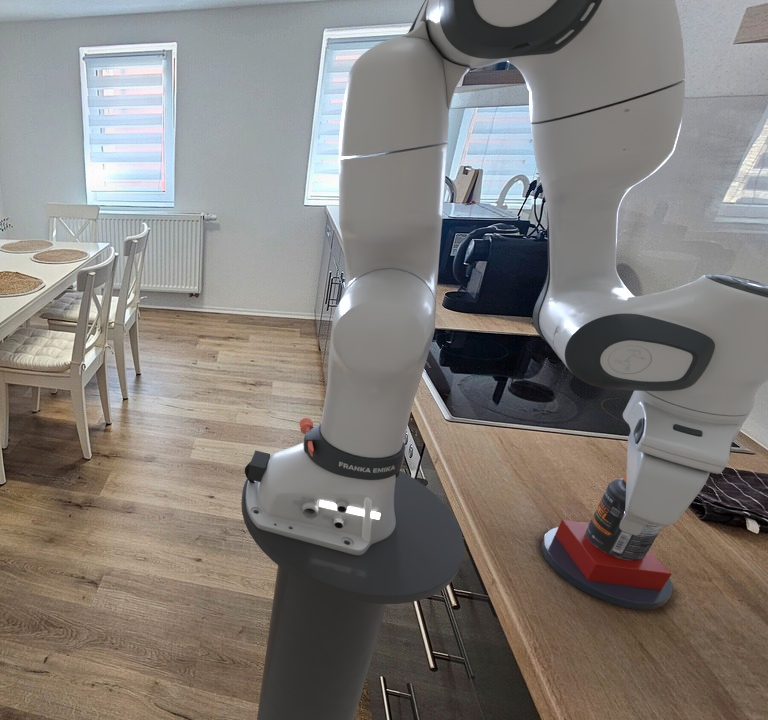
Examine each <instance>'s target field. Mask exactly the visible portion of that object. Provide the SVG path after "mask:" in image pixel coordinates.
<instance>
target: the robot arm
mask: <svg viewBox="0 0 768 720" xmlns="http://www.w3.org/2000/svg"><path fill="white" fill-rule="evenodd" d="M504 62H506V63H508V64H511V65H512V66H514V67H515V68H516V69H517V70H518V71H519V72H520V74H521V75H522V78H523V80H524V81H525V84H526V85H525V86H526V88H527V91H529V122H530V134H531V143H532V148H533V154H534V155H533V156H534V159H535V165H536V168H537V169H536V170H537V172H538V176H539V180H540V184H541V187H542V188H541V189H542V192H543V196H544V200H545V204H546V205H545V206H546V212H547V213H546V219H547V220H546V221H547V222H546V223H547V224H546V225H547V228H546V229H547V264H548V265H547V275H546V280H545V283H544V285H543V287H542V290H541V292H540V294H539V296H538V297H537V300H536V302H535V305H534V308H533V311H532V323H533V327H534V329H535V331H536V333H537V335H539V337H540V338H541V339H542V340H543V341H545V343H546V344H548V345H549V346H550V347H551V349H552V351H554V353H555V354H556V355H557V357H558V358H559V359H560V360H561V362H562V363H563V364H564V365H565V367H566V368H567V369H568V370H569V372H570V373H572V374H573V376H575V377H576V378H577V379H578V380H580V381H582V382H583V383H586V384H588V385H590V386H592V387H593V386H594V387H597V388H601V389H607V390H608V389H609V390H620V391H621V390H622V391H633V392H632V394H631V396H630V398H629V400H628V402H627V404H626V407H625V408H624V410H623V412H622V419H623V420H624V421H625V423H627V424H628V426H629V429H630V432H629V434H628V438H627V450H626V451H627V452H626V453H627V454H626V471H625V473H626V472H627V476H626V505H625V511H626V512H624V514H623V515H622V518H621V519H620V525H619V527H620V529H621V530H622V531H625V532H627V533H630V534H633V535H639V534H640V533H641V531H642V529H643V528H644V526H645V525H647V524H648V523H652V524H654V525H657V526H661V527H662V528H667V527H670V526H671V525H673V524H675V523H676V522H677V521H678V520H679V519H680V518H681V516H683V514H684V513H685V512H686V510H687V509H688V508H689V507H690V506H691V504H692V503H693V501H695V499H696V498H697V496H698V495H699V494H700V492H701V491H702V489H703V488H704V486H705V484H706V483H707V481H708V479H709V476H710V473H711V474H717V475H719V474H722V472H723V471H724V470H725V469H726V467H727V465H728V463H729V461H730V457H731V452H732V448H733V447H732V446H733V443H734V442H735V440H736V438H737V436H738V435H739V433H740V432H741V428H742V426H743V425H744V423H745V422H746V421H747V419H748V417H749V416H750V414H751V413H752V411H753V409H754V405H755V397H756V395H757V393H758V391H759V389H760V388H761V387H762V386H763V385H765V383H767V382H768V284H765V283H761V282H760V281H756V280H752V279H748V278H745V277H739V276H736V275H735V276H734V275H729V274H705V275H702V276H701V277H699V278H697V279H696V280H694V281H692V282H689V283H687V284H683V285H680V286H677V287H674V288H671V289H668V290H663V291H659V292H655V293H651V294H645V295H638V296H636V295H634V294H633V293H632V292H631V291H630V290H629V289H628V288H627V286H626V285H625V284H624V282H623V281H622V279H621V278H620V276H619V274H618V271H617V244H618V243H617V242H618V222H619V221H618V220H619V219H618V217H619V210H620V206H621V204H622V201H623V199H624V197H626V195H627V193H628V192H629V191H630V190H631V189H632V188H633V187H634V186H636V185H638V184H640V183H641V182H643V181H644V180H646V179H647V178H649V177H650V176H652V175H653V174H654V173H656V172H657V171H658V170H659V169H660V168H661V167H662V166H663V165H664V164H665V163H666V162H667V161H668V160H669V159H670V157H671V156H672V155H673V154H674V153H675V152H674V151H675V149H676V145H677V142H678V138H679V135H680V132H681V127H682V122H683V119H684V112H685V94H686V93H685V91H686V88H685V87H686V83H685V78H686V77H685V76H686V75H685V74H686V73H685V72H686V71H685V51H684V41H683V35H682V28H681V21H680V16H679V12H678V7H677V3H676V0H424V1H423V3H422V5H421V7H420V9H419V10H418V13H417V15H416V17H415V19H414V21H413V22H412V24H411V27H410V28H409V29H408V31H407V33H405V34H404V35H402V36H397V37H393V38H390V39H387V40H384V41H382V42H379V43H378V44H376V45H374V46H372V47H371V48H369V49H367V51H365V52H364V53H362V54H361V55H360V56H359V57H358V58H357V59H356V61H354V63H353V64H352V66H351V68H350V71H349V73H348V75H347V80H346V85H345V90H344V95H343V101H342V102H343V103H342V109H341V116H340V127H339V142H338V145H339V146H338V188H339V189H338V194H339V195H338V198H339V199H338V215H339V216H338V225H339V229H340V234H341V239H342V249H343V256H344V257H343V258H344V269H345V271H344V272H345V285H344V290H343V295H342V297H341V298H340V301H339V302H338V304H337V306H336V308H335V310H334V312H333V315H332V321H331V322H332V323H331V330H330V337H329V349H328V350H329V351H328V352H329V353H328V361H327V362H328V363H327V366H328V368H327V383H326V391H325V396H324V402H323V407H322V414H321V415H322V416H321V422H319V424H317V425H316V426H314V422H313V421H312V419H311V418H308V417H304V418H302V419H301V420H299V422H298V425H299V427H300V428H299V430H300V432H301V434H303V435H304V438H303V441H302V442H300V443H298V444H295V445H293V446H290V447H287V448H285V449H282V450H280V451H277V452H274V453H272V455H271V453H269V452H264V451H261V450H260V451H259V450H254V452H253V455H252V456H251V457H252V458H251V459H250V461H249V463H247V465H245V467H244V476H245V477H246V479H248V484H247V488H246V508H247V512H248V514H249V517H250V519H251V520H252V522H253V523H254V525H255V526H256V527H257V528H259V529H261V530H264V531H268V532H272V533H275V534H279V535H283V536H286V537H290V538H294V539H297V540H301V541H305V542H308V543H312V544H316V545H319V546H323V547H327V548H331V549H334V550H338V551H342V552H345V553H349V554H353V555H362V554H364V553H365V552H366V551H367V550H368V548H369V547H370V546H371V545H372V544H374V543H376V542H379V541H381V540H383V539H385V538H387V537H388V536H389V535H391V533H392V532H393V531H394V529H395V525H396V518H395V512H394V489H395V481H396V478H397V477H398V476H399V472H400V471H401V470H402V468H403V464H404V459H405V455H406V454H405V453H406V443H405V438H406V437H405V436H406V433H407V429H408V425H409V421H410V419H411V413H412V409H413V406H414V402H415V398H416V394H417V393H418V392H417V391H418V389H419V386H420V383H421V380H422V377H423V373H424V369H425V366H426V363H427V360H428V357H429V353H430V350H431V347H432V342H433V338H434V335H435V331H436V311H437V294H438V280H439V277H438V276H439V264H440V251H441V238H442V227H443V215H444V201H445V200H444V199H445V188H446V174H447V159H448V145H449V143H448V141H449V124H450V123H449V122H450V121H449V120H450V116H449V115H450V114H449V113H450V109H451V107H452V103H453V99H454V95H455V92H456V90H457V88H458V86H459V84H460V83H461V81H462V79H463V78H464V77H465V76H466V75H467V74H468V73H470V72H473V71H474V70H477V69H481V68H485V67H489V66H493V65H496V64H499V63H504ZM256 513H257V514H256ZM346 544H347V545H346Z"/></svg>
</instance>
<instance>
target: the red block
mask: <svg viewBox="0 0 768 720" xmlns="http://www.w3.org/2000/svg"><path fill="white" fill-rule="evenodd" d="M589 523H590V522H586V521H579V520H578V521H577V520H569V519H568V520H567V519H561V521H560V523H559V525H558V526H557V527H558V530H557V532H556V534H555V536H556V537H557V539H558V540H559V541H560V543H561V544H562V546H563V547H564V548H565V550H566V551H567V552H568V554H569V555H570V557H571V558H572V559H573V561H574V562H575V563H576V565H577V566H578V568H579V569H580V570H581V572H582V573H583V574H584V576H585V577H586V579H587V580H588V581H596V582H603V583H610V584H618V585H625V586H632V587H640V588H647V589H654V590H662V589H663V587H664V585H665V584H666V582H667V581H668V579H670V577H671V576H672V572H671V571H670V570H669V569H668V568H667V567H666V566H665V565H664V564H663V562H661V560H659V558H658V557H657V556H656V555H655V554H654V553H653V552H652V551H651V549H649V551H648V552H647V554H646V556H645V557H644V558H643V559H641V560H635V561H631V560H624V559H620V558H617V557H614V556H611V555H609V554H607V553H605V552H603V551H601V550H600V549H598V548H597V547H596V546H594V545H593V544H592V543H591V542H590V541H589V539H588V538H587V536H586V529H587V527H588V525H589Z"/></svg>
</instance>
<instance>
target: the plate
mask: <svg viewBox="0 0 768 720" xmlns="http://www.w3.org/2000/svg"><path fill="white" fill-rule="evenodd" d="M558 527H559V526H556V527H553V528H551V529H549V530H548V531H547V532H546V533H545V534H544V536H543V538H542V541H541V546H540V547H541V552H542V555H543V557H544V559H545V561H546V562H547V563H548V564H549V566H550V567H551V568H552V569H553V570H554V571H555V572H556V573H557V574H558V575H559V576H561V577H562V578H563V579H564V580H565V581H567V582H568V583H570V584H571V585H573V586H574V587H576V588H577V589H579V590H581V591H582V592H585V593H586V594H588V595H589V596H591V597H594V598H596V599H598V600H601V601H604V602H606V603H609V604H611V605H616V606H619V607H621V608H622V607H623V608H627V609H631V610H641V611H645V610H646V611H650V610H656V609H659V608H661V607H663V606H664V605H666V603H667V602H668V601H669V600H670V598H671V596H672V595H673V588H674V587H673V583H672V580H671V578H669V579H668V581H667V582H666V584H665V585H664V587H663V589H662V590H654V589H647V588H640V587H632V586H625V585H618V584H610V583H603V582H596V581H588V580H587V579H586V577H585V576H584V574H583V573H582V572H581V570H580V569H579V568H578V566H577V565H576V563H575V562H574V561H573V559H572V558H571V557H570V555H569V554H568V552H567V551H566V550H565V548H564V547H563V546H562V544H561V543H560V541H559V540H558V539H557V537H556V536H555V534H556V532H557V530H558Z"/></svg>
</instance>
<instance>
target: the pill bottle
mask: <svg viewBox="0 0 768 720" xmlns="http://www.w3.org/2000/svg"><path fill="white" fill-rule="evenodd" d="M626 476H627V472H626V471H625V474H624V476H623V478H617V479H614V480H612V481H610V482H609V483H608V485H607V487H606V488H605V491H604V493H603V495H602V497H601V499H600V501H599V503H598V504H597V505H598V506H597V507H596V509H595V511H594V514H593V515H592V517H591V518H590V519H591V520H590V521H589V522H588V523H589V525H588V527H587V529H586V536H587V538H588V539H589V541H590V542H591V543H592V544H593V545H594V546H596V547H597V548H598V549H600V550H601V551H603V552H605V553H607V554H609V555H611V556H614V557H617V558H620V559H624V560H631V561H635V560H641V559H643V558H644V557H645V556H646V554H647V552H648V551H649V550H651V547H652V545H653V544H654V543H655V540H656V539H657V537H658V535H659V534H660V532H661V531H662V529H663V527H661V526H657V525H654V524H652V523H648V524H647V525H645V526H644V528H643V529H642V531H641V533H640V534H639V535H633V534H630V533H627V532H625V531H622V530H621V529H620V527H619V525H620V519H621V518H622V515H623V514H624V512H626V511H625V505H626Z"/></svg>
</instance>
